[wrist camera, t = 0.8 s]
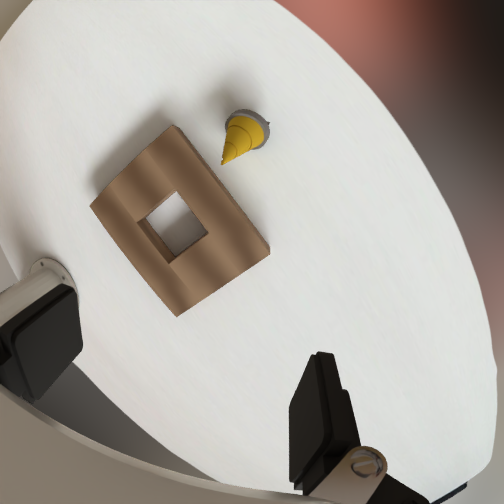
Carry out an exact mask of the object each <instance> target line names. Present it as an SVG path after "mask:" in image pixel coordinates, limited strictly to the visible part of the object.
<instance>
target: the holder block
mask: <svg viewBox="0 0 504 504" xmlns="http://www.w3.org/2000/svg"><path fill="white" fill-rule="evenodd" d="M176 191H177V192H178V193H179V195H180V196H181V197H182V199H183V200H184V201H185V203H186V204H187V205H188V206H189V208H190V209H191V210H192V212H193V213H194V214H195V216H196V217H197V218H198V220H199V221H200V222H201V223H202V225H203V226H204V227H205V229H206V230H207V231H208V233H206V234H205V235H204V236H202V237H201V238H200V239H198V240H197V241H196V242H194V243H193V244H192V245H191V246H189V247H188V248H187V249H185V250H184V251H183V252H182V253H180V254H179V255H178V256H176V257H175V256H174V255H173V254H172V252H171V251H170V250H169V249H168V247H167V246H166V245H165V243H164V242H163V241H162V240H161V238H160V237H159V236H158V234H157V233H156V232H155V231H154V229H153V228H152V227H151V225H150V224H149V223H148V221H147V220H146V219H145V218H146V217H147V216H148V215H149V214H150V213H151V212H153V211H154V210H155V209H156V208H157V207H158V206H159V205H160V204H162V203H163V202H164V201H165V200H166V199H167V198H169V197H170V196H171V195H172V194H173V193H175V192H176ZM90 207H91V209H92V210H93V212H94V213H95V215H96V216H97V218H98V219H99V220H100V222H101V223H102V225H103V226H104V227H105V229H106V230H107V232H108V233H109V234H110V236H111V237H112V238H113V240H114V241H115V243H116V244H117V245H118V247H119V248H120V249H121V251H122V252H123V253H124V254H125V256H126V257H127V258H128V260H129V261H130V262H131V264H132V265H133V266H134V267H135V269H136V270H137V271H138V272H139V274H140V275H141V276H142V277H143V279H144V280H145V281H146V282H147V283H148V285H149V286H150V287H151V288H152V290H153V291H154V292H155V293H156V294H157V296H158V297H159V298H160V299H161V300H162V301H163V303H164V304H165V305H166V306H167V307H168V308H169V309H170V311H171V312H172V313H173V314H174V315H175V316H176V317H178V316H179V315H181V314H182V313H184V312H185V311H187V310H188V309H190V308H191V307H193V306H194V305H196V304H197V303H199V302H200V301H202V300H203V299H205V298H206V297H208V296H209V295H211V294H212V293H214V292H215V291H217V290H218V289H220V288H221V287H222V286H224V285H225V284H227V283H228V282H230V281H231V280H233V279H234V278H236V277H237V276H239V275H240V274H242V273H243V272H245V271H246V270H248V269H249V268H251V267H252V266H254V265H255V264H257V263H258V262H259V261H261V260H262V259H264V258H265V257H267V256H268V255H270V247H269V245H268V244H267V243H266V241H265V240H264V239H263V237H262V236H261V235H260V233H259V232H258V231H257V229H256V228H255V227H254V225H253V224H252V223H251V221H250V220H249V219H248V217H247V216H246V215H245V213H244V212H243V211H242V209H241V208H240V207H239V205H238V204H237V203H236V201H235V200H234V199H233V197H232V196H231V195H230V193H229V192H228V191H227V189H226V188H225V187H224V185H223V184H222V183H221V182H220V180H219V179H218V178H217V176H216V175H215V174H214V172H213V171H212V170H211V168H210V167H209V166H208V165H207V163H206V162H205V161H204V159H203V158H202V157H201V155H200V154H199V153H198V152H197V150H196V149H195V148H194V146H193V145H192V144H191V142H190V141H189V140H188V139H187V137H186V136H185V135H184V133H183V132H182V131H181V130H180V128H178V127H175V126H173V125H172V126H170V127H169V128H168V129H167V130H166V131H165V132H163V133H162V134H161V135H160V136H159V137H158V138H157V139H155V140H154V141H153V142H152V143H151V144H150V145H149V146H148V147H147V148H146V149H144V150H143V151H142V152H141V153H140V154H139V155H138V156H137V157H136V158H135V159H134V160H133V161H132V162H131V163H130V164H129V165H128V166H127V167H126V168H125V169H124V170H123V171H122V172H121V173H120V174H119V175H118V176H117V177H116V178H115V179H114V180H113V181H112V182H111V183H110V184H109V185H108V186H107V187H106V188H105V189H104V190H103V191H102V192H101V193H100V195H99V196H98V197H97V198H96V199H95V200H94V201H93V202H92V203H91V204H90Z"/></svg>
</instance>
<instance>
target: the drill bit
mask: <svg viewBox="0 0 504 504" xmlns="http://www.w3.org/2000/svg"><path fill="white" fill-rule="evenodd" d="M269 123H270V122H267V121H265V119H264V118H263V117H262V116H260V115H259V114H258V113H256V112H254V111H251V110H245V109H242V110H237V111H235V112H234V113H232V115H231V116H230V117H229V118H228V119H227V121H226V124H225V129H226V133H227V134H226V139H225V145H224V150H223V155H222V158H223V160H222V161H221V165H223V164H225V163H227V162H229V161H231V160H232V159H234V158H236V157H238V156H240V155H242V154H244V153H245V152H247V151H249V150H255V149H259V148H261V147H262V146H263V145H264V144H265V143H266V141H267V140H268V138H269V135H270V129H269V126H268V125H269Z"/></svg>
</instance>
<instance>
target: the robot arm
mask: <svg viewBox="0 0 504 504" xmlns="http://www.w3.org/2000/svg"><path fill="white" fill-rule="evenodd" d="M82 348H83V340H82V333H81V325H80V317H79V297H78V292H77V289H76V286H75V284H74V282H73V280H72V278H71V276H70V275H69V273H68V272H67V271H66V270H65V268H64V267H63V266H62V265H60V264H59V263H58V262H56V261H55V260H52V259H50V258H43V259H40V260H38V261H36V262H35V263H34V264H33V265H32V267H31V269H30V273H29V276H27V277H25V278H24V279H22V280H20V281H19V282H17V283H15V284H14V285H12V286H10V287H9V288H7V289H6V290H4V291H3V292H1V293H0V504H430V503H429V501H428V500H427V499H426V498H425V497H424V496H422V495H420V494H419V493H417V492H415V491H414V490H412V489H410V488H409V487H407V486H405V485H404V484H402V483H401V482H399V481H398V480H396V479H394V478H393V477H391V476H390V475H388V474H387V473H386V472H387V461H386V458H385V457H384V456H383V454H382V453H381V452H379V451H378V450H377V449H374V448H372V447H368V446H361V443H360V438H359V434H358V429H357V425H356V421H355V417H354V412H353V408H352V404H351V400H350V396H349V393H348V391H347V390H345V389H342V386H341V382H340V378H339V374H338V370H337V366H336V362H335V358H334V355H333V354H332V353H326V352H317V353H316V355H313V354H312V355H311V356H310V359H309V361H308V363H307V366H306V368H305V371H304V373H303V375H302V378H301V380H300V382H299V384H298V387H297V389H296V391H295V393H294V396H293V398H292V400H291V402H290V406H289V481H290V482H293V483H294V490H303V495H298V494H289V493H281V492H274V491H266V490H258V489H252V488H245V487H239V486H234V485H228V484H223V483H219V482H213V481H209V480H205V479H200V478H196V477H192V476H188V475H184V474H180V473H177V472H174V471H171V470H167V469H164V468H161V467H158V466H155V465H152V464H149V463H146V462H143V461H141V460H138V459H135V458H133V457H130V456H127V455H125V454H122V453H120V452H117V451H115V450H113V449H110V448H108V447H106V446H104V445H101V444H99V443H97V442H95V441H93V440H91V439H89V438H87V437H85V436H83V435H81V434H79V433H77V432H75V431H73V430H71V429H69V428H67V427H66V426H64V425H62V424H60V423H58V422H57V421H55V420H53V419H52V418H50V417H48V416H47V415H45V414H43V413H42V412H40V411H38V410H37V409H35V408H34V407H32V406H31V405H29V404H28V403H26V402H25V401H23V400H22V399H20V398H19V397H20V396H21V395H22V397H23V399H25V400H26V401H28V402H29V403H31V404H33V403H34V401H35V400H38V399H40V398H41V397H42V396H43V394H44V393H45V392H46V391H47V390H48V388H49V387H50V386H51V385H52V384H53V382H54V381H55V380H56V379H57V378H58V377H59V376H60V375H61V373H62V372H63V371H64V370H65V369H66V368H67V367H68V365H69V364H70V363H71V362H72V361H73V360H74V359H75V358H76V357H77V355H78V354H79V353H80V352H81V351H82Z"/></svg>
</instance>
